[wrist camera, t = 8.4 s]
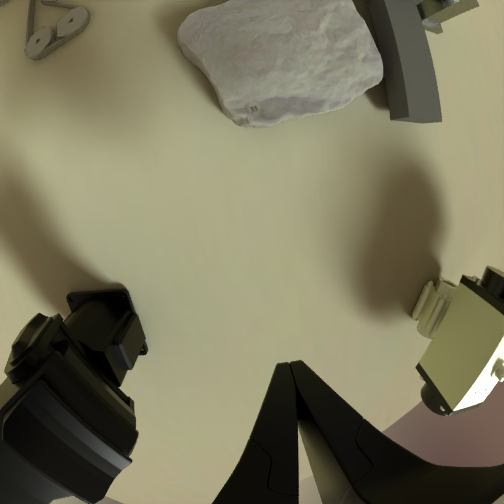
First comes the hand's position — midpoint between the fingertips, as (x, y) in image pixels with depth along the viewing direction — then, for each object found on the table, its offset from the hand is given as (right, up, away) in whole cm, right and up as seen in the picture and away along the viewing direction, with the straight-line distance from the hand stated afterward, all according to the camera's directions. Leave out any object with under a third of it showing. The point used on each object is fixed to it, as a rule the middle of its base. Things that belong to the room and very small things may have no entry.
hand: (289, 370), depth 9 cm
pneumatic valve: (+16, -1, +14) cm, 21 cm away
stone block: (+1, +17, +7) cm, 19 cm away
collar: (+9, +20, +5) cm, 23 cm away
